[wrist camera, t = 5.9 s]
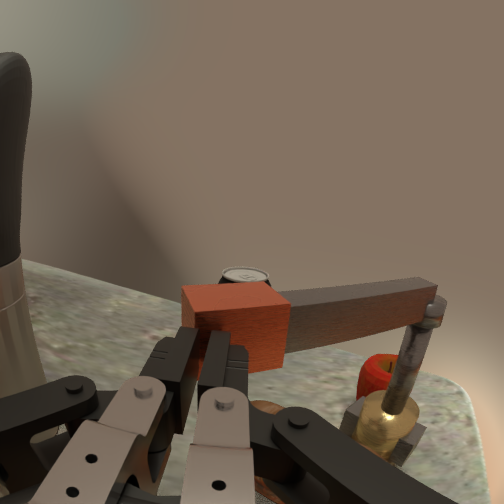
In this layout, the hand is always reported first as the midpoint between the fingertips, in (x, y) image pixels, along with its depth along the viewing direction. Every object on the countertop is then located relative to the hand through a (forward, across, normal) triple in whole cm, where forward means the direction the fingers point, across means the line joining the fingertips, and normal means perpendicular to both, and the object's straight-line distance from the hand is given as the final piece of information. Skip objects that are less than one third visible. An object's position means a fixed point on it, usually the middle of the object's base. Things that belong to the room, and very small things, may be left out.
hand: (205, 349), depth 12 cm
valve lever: (+5, -7, +2) cm, 9 cm away
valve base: (+7, -14, +17) cm, 23 cm away
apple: (+14, -17, +17) cm, 28 cm away
